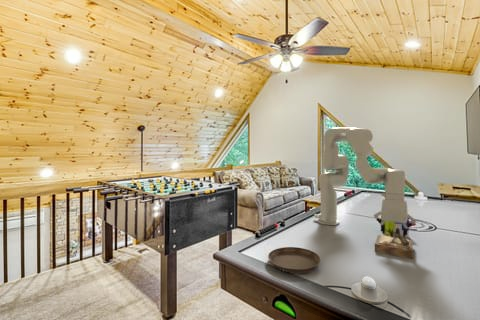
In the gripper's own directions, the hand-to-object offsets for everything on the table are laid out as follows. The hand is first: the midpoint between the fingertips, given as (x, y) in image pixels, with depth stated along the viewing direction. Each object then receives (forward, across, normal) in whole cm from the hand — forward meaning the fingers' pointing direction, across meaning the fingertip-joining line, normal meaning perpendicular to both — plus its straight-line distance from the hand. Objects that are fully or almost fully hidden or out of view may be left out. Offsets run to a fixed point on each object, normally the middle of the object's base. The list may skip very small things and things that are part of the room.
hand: (393, 234), depth 113 cm
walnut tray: (+7, 0, 0) cm, 7 cm away
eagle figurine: (+3, +2, -1) cm, 3 cm away
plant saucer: (+7, -33, -38) cm, 51 cm away
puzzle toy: (+7, -1, +26) cm, 27 cm away
